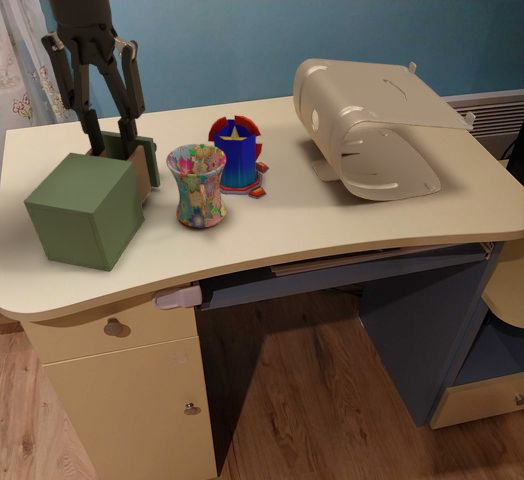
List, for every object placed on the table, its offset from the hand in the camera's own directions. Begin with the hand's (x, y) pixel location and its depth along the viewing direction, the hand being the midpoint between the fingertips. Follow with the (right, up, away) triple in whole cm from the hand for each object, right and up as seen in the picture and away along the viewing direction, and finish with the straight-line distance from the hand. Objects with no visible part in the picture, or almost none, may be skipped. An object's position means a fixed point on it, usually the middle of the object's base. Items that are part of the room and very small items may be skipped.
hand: (115, 154), depth 81 cm
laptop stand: (+44, +4, +15) cm, 47 cm away
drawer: (0, -4, +7) cm, 8 cm away
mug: (+14, -10, +3) cm, 18 cm away
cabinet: (-3, -14, 0) cm, 14 cm away
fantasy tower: (+19, 0, +11) cm, 22 cm away
